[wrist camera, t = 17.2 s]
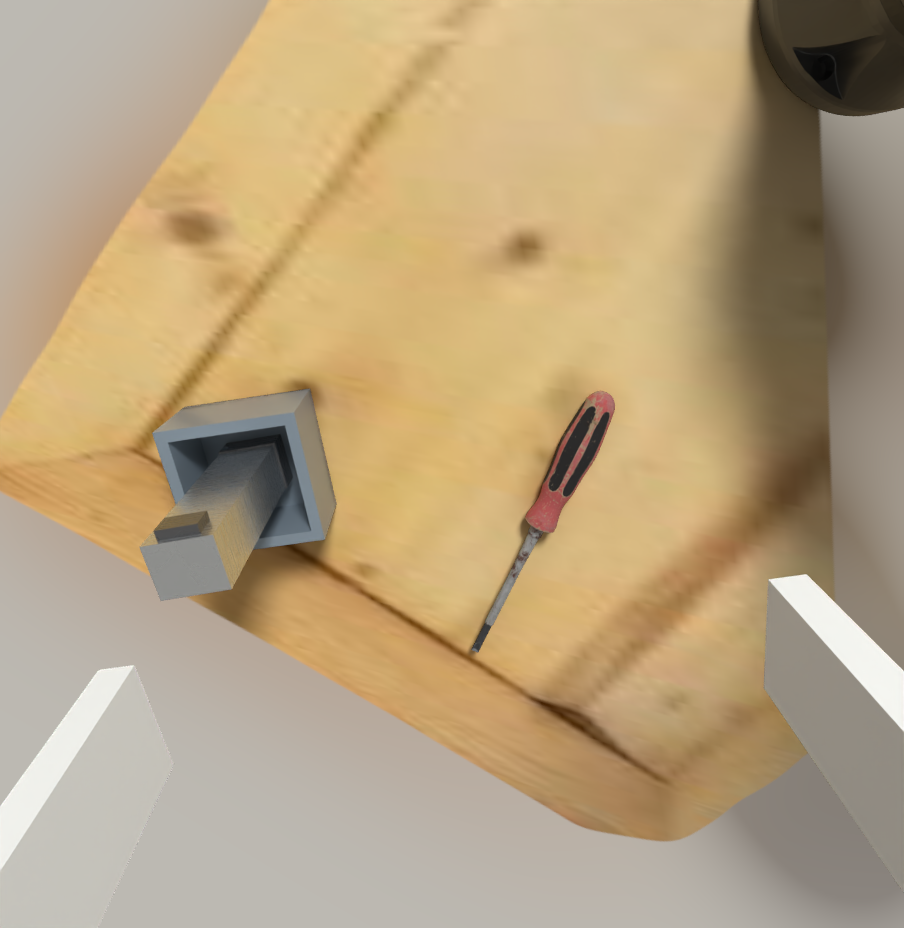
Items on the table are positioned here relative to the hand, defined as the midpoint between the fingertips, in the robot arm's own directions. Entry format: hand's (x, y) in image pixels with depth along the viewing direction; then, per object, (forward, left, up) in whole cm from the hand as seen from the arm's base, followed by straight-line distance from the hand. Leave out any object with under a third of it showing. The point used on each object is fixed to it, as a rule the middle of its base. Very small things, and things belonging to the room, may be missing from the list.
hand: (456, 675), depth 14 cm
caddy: (+15, +7, -37) cm, 40 cm away
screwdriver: (-5, +16, -37) cm, 41 cm away
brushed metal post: (+15, +7, -36) cm, 40 cm away
